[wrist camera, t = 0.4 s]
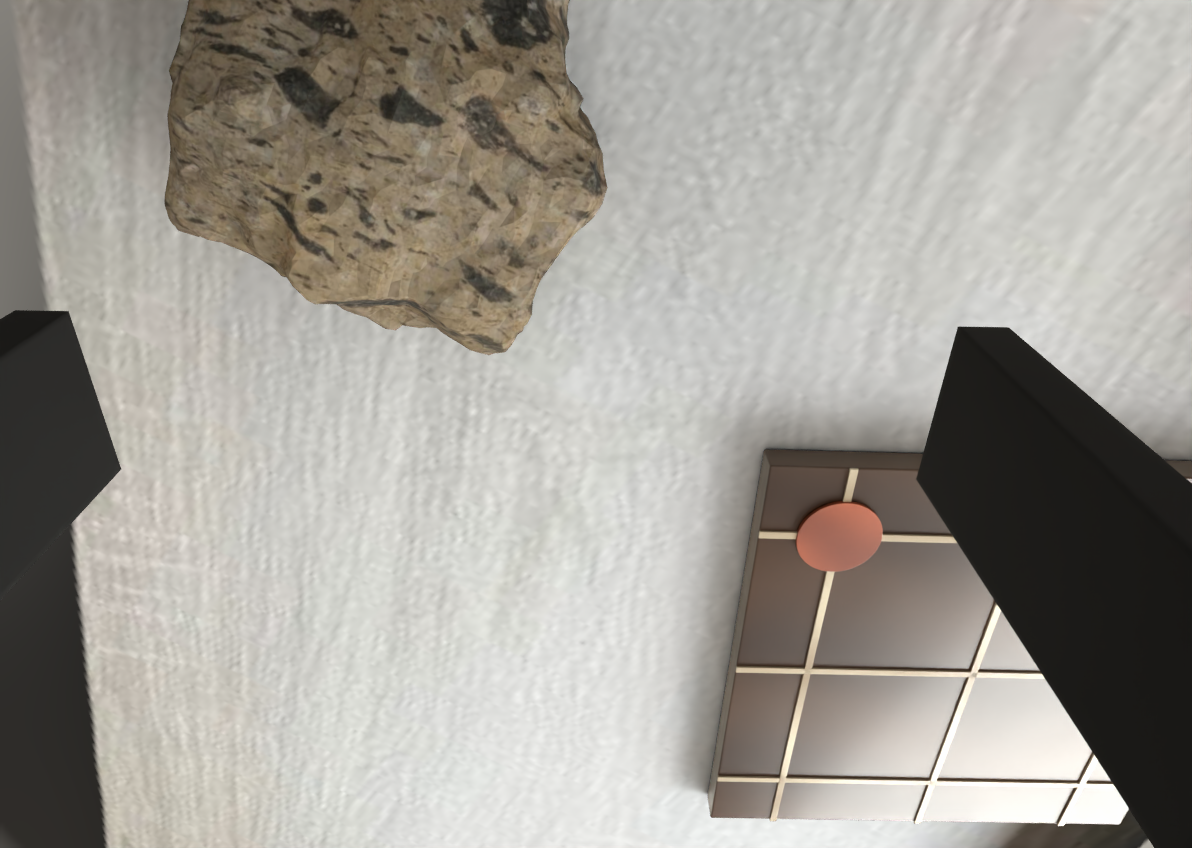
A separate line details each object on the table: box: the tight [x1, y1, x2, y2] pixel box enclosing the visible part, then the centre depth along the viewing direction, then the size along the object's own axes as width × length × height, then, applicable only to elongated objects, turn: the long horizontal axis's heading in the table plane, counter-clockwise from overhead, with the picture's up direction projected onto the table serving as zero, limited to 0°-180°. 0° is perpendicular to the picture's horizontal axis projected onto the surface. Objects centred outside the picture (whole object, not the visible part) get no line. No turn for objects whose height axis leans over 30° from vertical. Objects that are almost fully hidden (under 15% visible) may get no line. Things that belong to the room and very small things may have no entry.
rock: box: [165, 0, 607, 355], centre depth 21 cm, size 11×12×4 cm
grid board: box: [708, 449, 1192, 826], centre depth 34 cm, size 20×20×1 cm
